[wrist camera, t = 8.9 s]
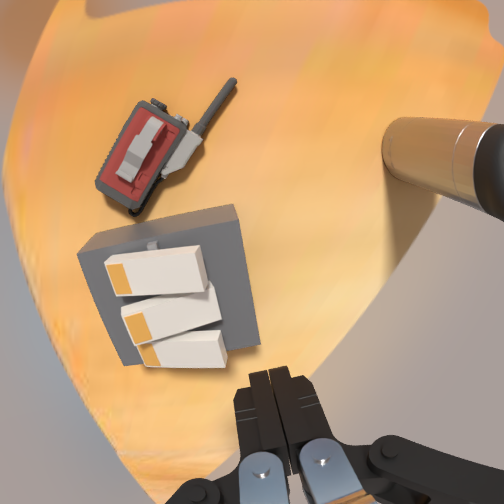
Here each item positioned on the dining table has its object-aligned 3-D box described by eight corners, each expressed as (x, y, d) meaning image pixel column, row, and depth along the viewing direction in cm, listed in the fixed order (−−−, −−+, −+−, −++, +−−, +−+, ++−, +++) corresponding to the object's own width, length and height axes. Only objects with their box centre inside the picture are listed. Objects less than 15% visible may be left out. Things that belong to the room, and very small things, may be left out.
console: (233, 203, 38) (239, 222, 31) (253, 316, 44) (262, 351, 37) (93, 233, 37) (70, 258, 30) (131, 337, 43) (121, 373, 36)
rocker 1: (209, 280, 34) (214, 287, 32) (217, 311, 35) (222, 319, 34) (121, 307, 31) (121, 315, 29) (133, 337, 32) (134, 346, 31)
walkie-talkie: (152, 223, 38) (241, 84, 33) (145, 234, 34) (246, 79, 29) (94, 188, 35) (180, 48, 31) (81, 196, 31) (176, 38, 26)
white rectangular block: (199, 245, 30) (194, 253, 28) (208, 282, 31) (204, 292, 29) (112, 255, 31) (103, 262, 29) (123, 288, 33) (115, 297, 31)
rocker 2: (220, 330, 34) (217, 341, 32) (227, 357, 35) (225, 368, 33) (139, 332, 35) (133, 341, 33) (150, 357, 36) (145, 367, 35)
